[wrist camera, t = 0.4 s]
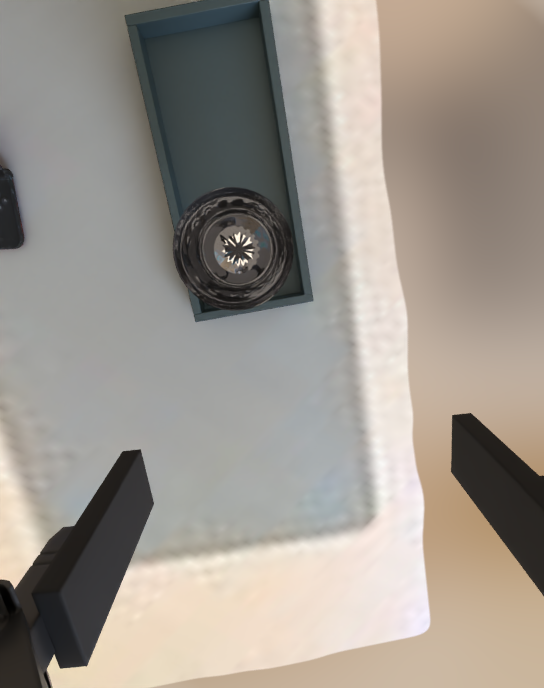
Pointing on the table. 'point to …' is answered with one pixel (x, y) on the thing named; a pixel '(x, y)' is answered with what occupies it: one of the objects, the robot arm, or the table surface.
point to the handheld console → (9, 213)
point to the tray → (219, 116)
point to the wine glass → (233, 248)
